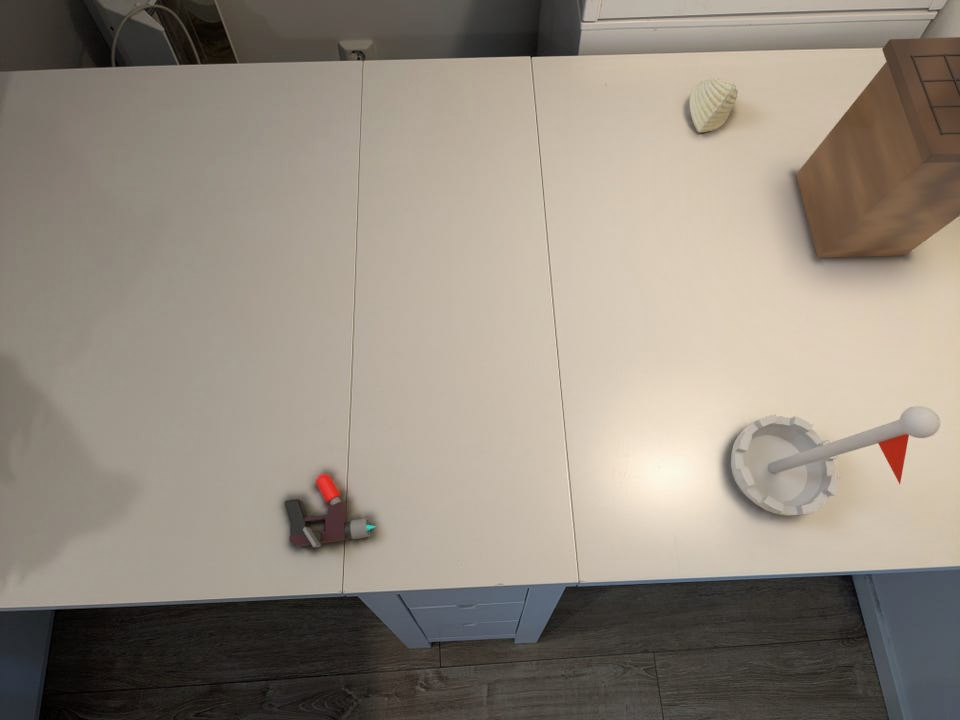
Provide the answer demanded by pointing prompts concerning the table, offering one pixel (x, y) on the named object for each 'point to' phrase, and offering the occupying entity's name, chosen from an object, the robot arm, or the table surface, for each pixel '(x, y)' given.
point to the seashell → (711, 103)
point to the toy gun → (334, 520)
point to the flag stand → (812, 458)
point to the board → (890, 157)
